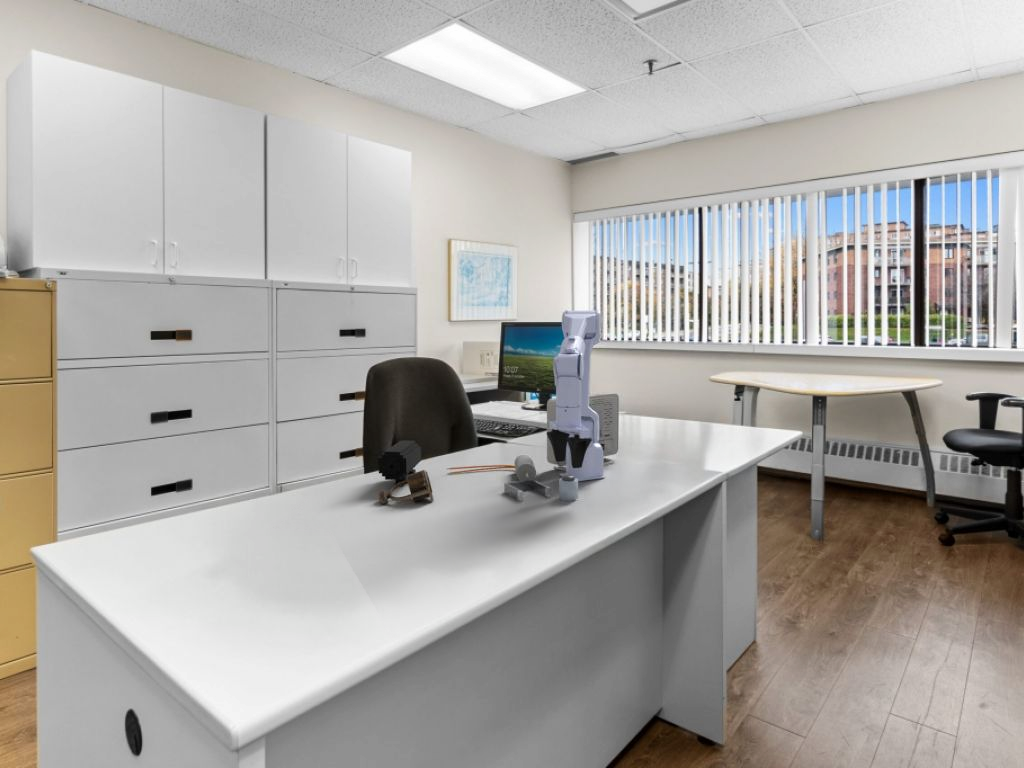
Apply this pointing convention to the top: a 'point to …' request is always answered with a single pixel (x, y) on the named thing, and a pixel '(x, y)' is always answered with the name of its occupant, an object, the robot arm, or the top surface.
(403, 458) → the security camera
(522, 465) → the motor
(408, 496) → the mechanical counter
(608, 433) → the network device
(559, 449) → the robot arm
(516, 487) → the clip cradle
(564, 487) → the light grey cylinder
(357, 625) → the top surface
